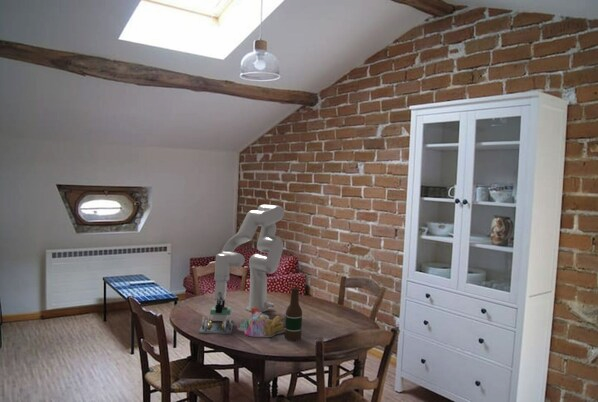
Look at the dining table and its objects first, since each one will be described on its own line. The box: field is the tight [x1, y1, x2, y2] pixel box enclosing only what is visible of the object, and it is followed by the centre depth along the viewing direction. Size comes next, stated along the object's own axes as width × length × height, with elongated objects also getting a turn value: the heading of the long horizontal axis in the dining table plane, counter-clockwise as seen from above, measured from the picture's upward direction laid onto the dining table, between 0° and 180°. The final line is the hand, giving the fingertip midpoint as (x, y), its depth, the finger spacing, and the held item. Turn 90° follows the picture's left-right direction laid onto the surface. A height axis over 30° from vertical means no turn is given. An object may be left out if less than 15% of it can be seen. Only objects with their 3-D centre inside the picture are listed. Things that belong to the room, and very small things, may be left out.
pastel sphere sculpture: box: [236, 307, 285, 338], centre depth 221 cm, size 25×24×9 cm
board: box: [209, 305, 232, 316], centre depth 233 cm, size 10×6×3 cm, turn 92°
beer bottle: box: [284, 286, 303, 342], centre depth 210 cm, size 8×8×24 cm
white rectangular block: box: [212, 314, 230, 322], centre depth 233 cm, size 8×4×4 cm, turn 92°
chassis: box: [198, 313, 234, 335], centre depth 218 cm, size 15×12×6 cm
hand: (220, 310), depth 232 cm, fingers open, 9 cm apart
